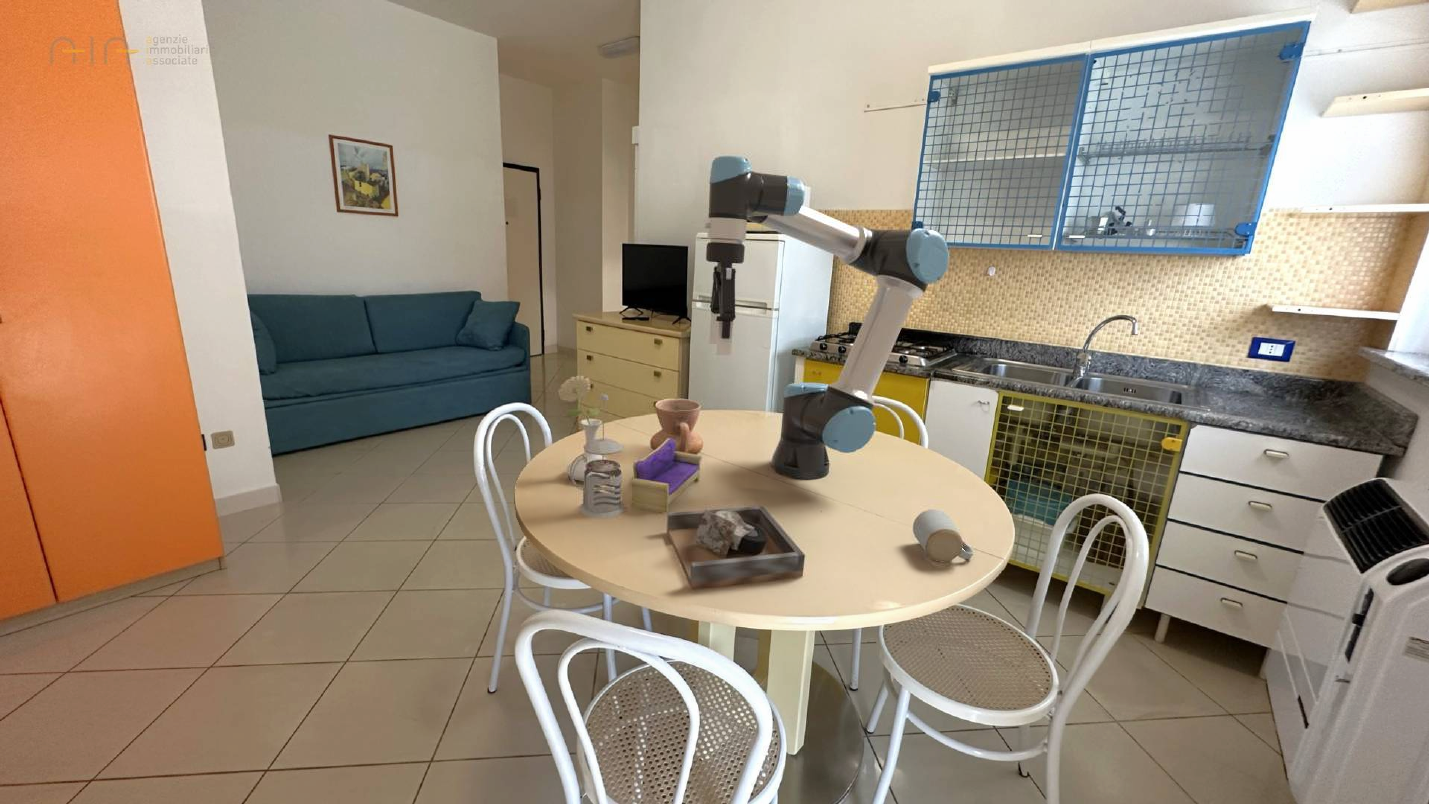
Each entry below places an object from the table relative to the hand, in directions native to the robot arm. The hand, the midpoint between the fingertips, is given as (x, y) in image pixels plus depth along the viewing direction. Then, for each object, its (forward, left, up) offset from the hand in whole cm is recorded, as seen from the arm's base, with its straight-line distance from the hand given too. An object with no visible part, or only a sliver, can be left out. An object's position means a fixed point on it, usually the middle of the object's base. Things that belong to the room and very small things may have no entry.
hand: (719, 349), depth 118 cm
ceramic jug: (0, -33, -35) cm, 48 cm away
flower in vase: (+25, -20, -35) cm, 47 cm away
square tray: (+2, +21, -35) cm, 41 cm away
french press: (+24, -2, -35) cm, 42 cm away
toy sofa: (+8, -8, -35) cm, 37 cm away
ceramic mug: (-39, +28, -35) cm, 60 cm away
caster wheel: (+1, +21, -34) cm, 40 cm away
